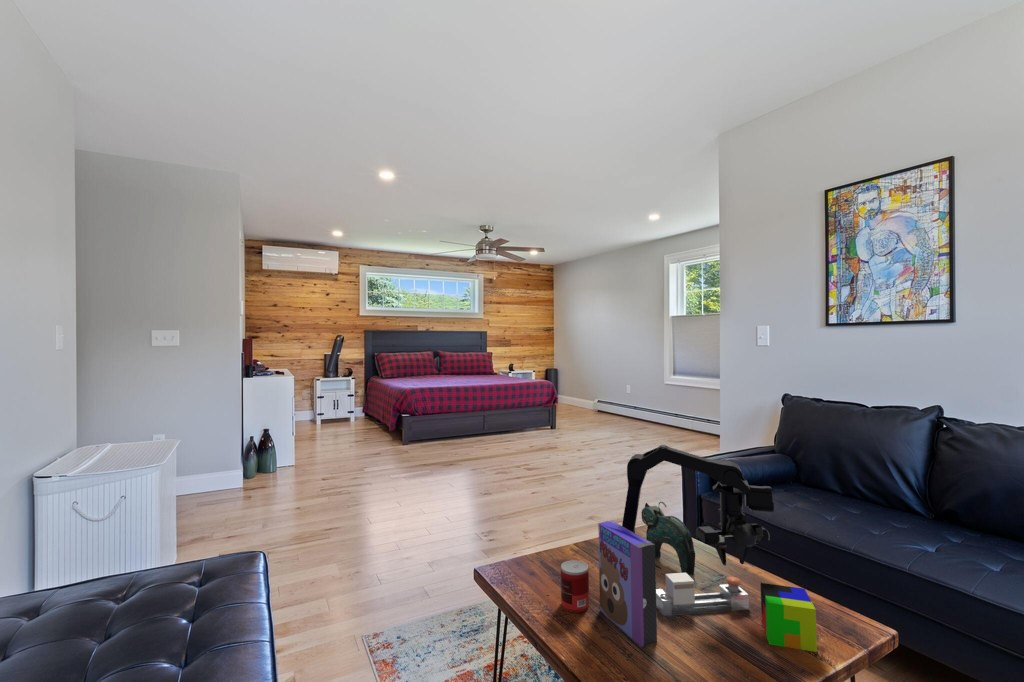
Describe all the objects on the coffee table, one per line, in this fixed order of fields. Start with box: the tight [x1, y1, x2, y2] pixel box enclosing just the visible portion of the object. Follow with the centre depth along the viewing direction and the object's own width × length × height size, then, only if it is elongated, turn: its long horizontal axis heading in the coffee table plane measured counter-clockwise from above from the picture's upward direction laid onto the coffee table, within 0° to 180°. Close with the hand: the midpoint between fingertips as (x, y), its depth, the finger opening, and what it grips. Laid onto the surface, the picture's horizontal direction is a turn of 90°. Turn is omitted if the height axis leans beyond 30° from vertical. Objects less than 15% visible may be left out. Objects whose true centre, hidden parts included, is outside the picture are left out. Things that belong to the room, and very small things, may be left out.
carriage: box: [665, 572, 696, 605], centre depth 128 cm, size 6×5×6 cm
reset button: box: [725, 575, 741, 593], centre depth 130 cm, size 4×4×5 cm
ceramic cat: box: [641, 501, 696, 576], centre depth 155 cm, size 20×6×20 cm, turn 28°
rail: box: [656, 583, 750, 617], centre depth 129 cm, size 24×6×4 cm, turn 96°
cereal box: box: [597, 520, 658, 648], centre depth 120 cm, size 17×5×24 cm, turn 23°
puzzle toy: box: [760, 582, 818, 653], centre depth 115 cm, size 10×10×10 cm
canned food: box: [560, 559, 590, 614], centre depth 130 cm, size 8×8×11 cm
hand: (732, 564), depth 130 cm, fingers open, 5 cm apart
